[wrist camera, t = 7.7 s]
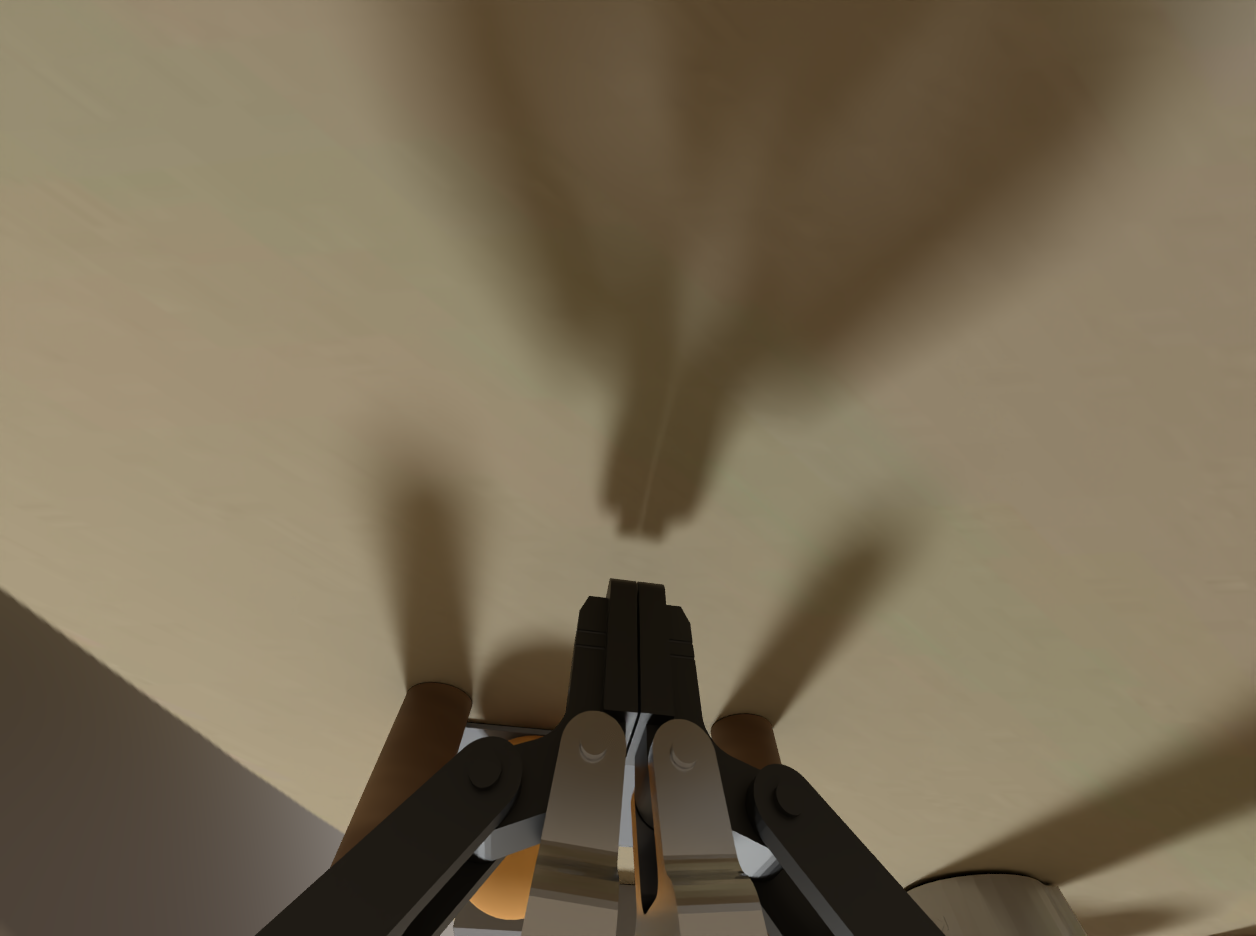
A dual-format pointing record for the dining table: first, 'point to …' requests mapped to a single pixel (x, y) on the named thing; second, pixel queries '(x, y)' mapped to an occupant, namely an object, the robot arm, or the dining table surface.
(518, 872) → the ball
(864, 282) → the dining table surface
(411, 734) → the left post
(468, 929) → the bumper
